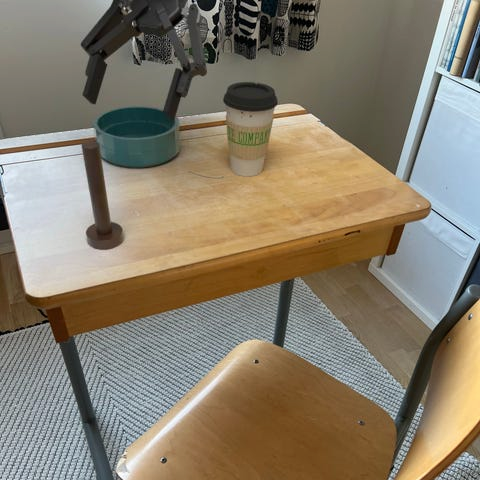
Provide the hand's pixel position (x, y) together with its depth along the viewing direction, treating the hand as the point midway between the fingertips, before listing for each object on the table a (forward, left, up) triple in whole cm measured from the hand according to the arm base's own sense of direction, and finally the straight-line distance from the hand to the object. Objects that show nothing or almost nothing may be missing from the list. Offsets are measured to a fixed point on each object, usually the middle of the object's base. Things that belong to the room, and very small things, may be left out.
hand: (127, 107), depth 77 cm
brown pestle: (+2, -10, -17) cm, 20 cm away
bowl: (-14, +18, -17) cm, 28 cm away
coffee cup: (+8, +24, -17) cm, 30 cm away
